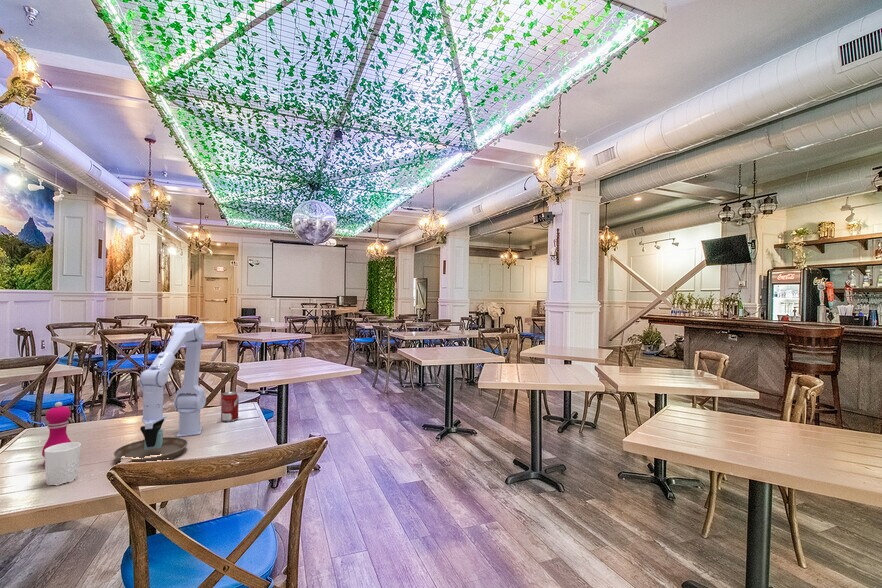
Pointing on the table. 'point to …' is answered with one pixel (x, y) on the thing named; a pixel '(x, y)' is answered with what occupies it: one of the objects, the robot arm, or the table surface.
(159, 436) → the block
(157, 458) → the plant saucer
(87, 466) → the table surface
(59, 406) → the pepper mill
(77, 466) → the white cup
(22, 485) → the table surface
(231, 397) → the soda can
